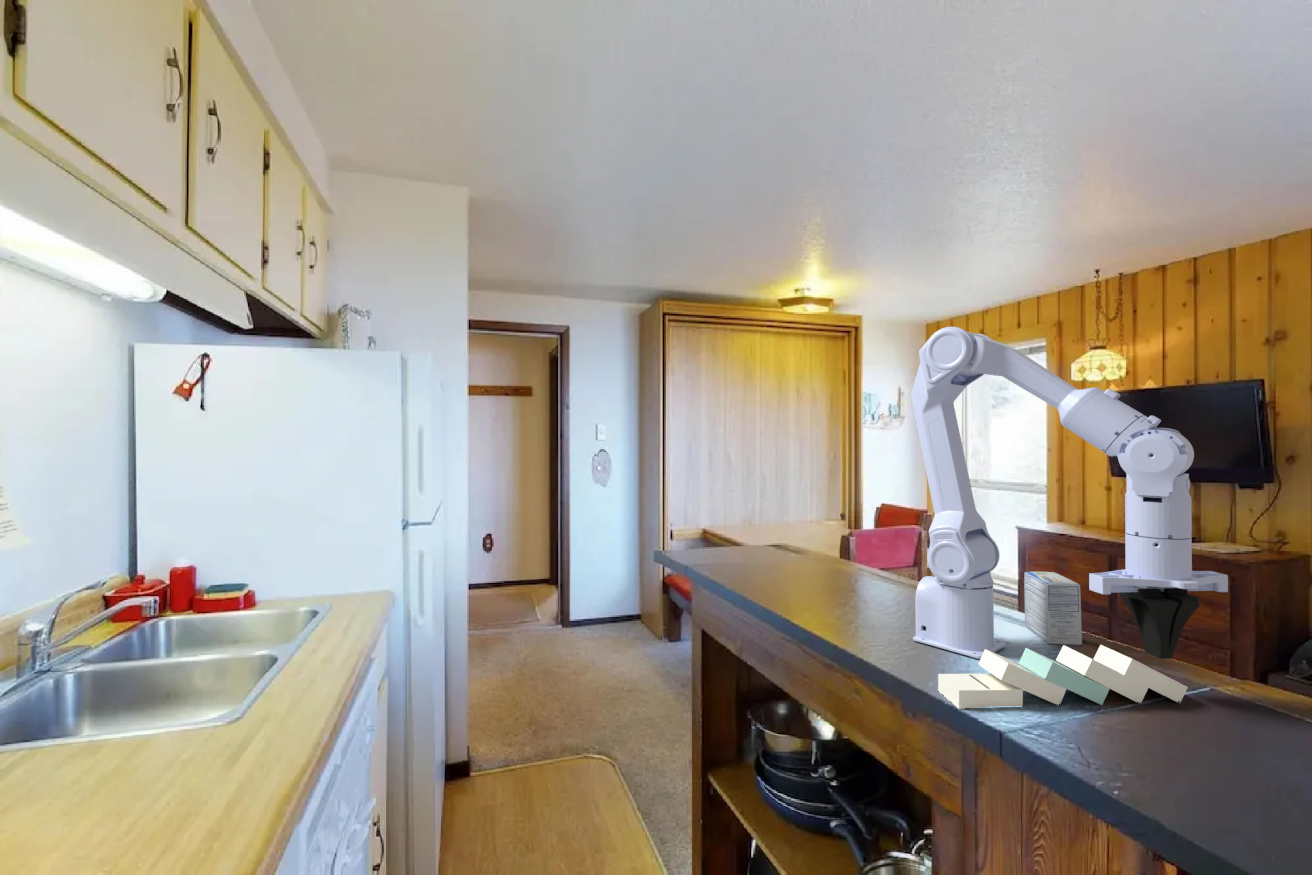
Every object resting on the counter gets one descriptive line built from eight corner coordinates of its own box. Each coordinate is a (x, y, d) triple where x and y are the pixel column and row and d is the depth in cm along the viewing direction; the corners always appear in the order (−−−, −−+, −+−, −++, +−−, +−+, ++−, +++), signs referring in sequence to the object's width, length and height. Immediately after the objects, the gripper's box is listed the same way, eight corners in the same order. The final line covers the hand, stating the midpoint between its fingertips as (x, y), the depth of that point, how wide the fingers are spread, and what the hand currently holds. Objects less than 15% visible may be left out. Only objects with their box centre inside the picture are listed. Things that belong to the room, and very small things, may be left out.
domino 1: (997, 673, 68) (938, 673, 68) (1022, 689, 63) (959, 690, 63) (997, 690, 68) (938, 691, 68) (1022, 708, 63) (959, 709, 63)
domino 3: (1079, 671, 68) (1025, 647, 68) (1109, 688, 64) (1052, 661, 64) (1072, 688, 68) (1018, 663, 68) (1102, 705, 64) (1045, 679, 64)
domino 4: (1115, 671, 68) (1063, 644, 68) (1148, 687, 64) (1092, 658, 64) (1108, 687, 68) (1055, 660, 68) (1140, 704, 64) (1084, 675, 64)
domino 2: (1039, 672, 68) (985, 648, 68) (1066, 688, 64) (1008, 662, 64) (1032, 688, 68) (977, 664, 68) (1059, 706, 64) (1001, 680, 64)
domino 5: (1152, 670, 68) (1100, 644, 68) (1188, 686, 64) (1132, 658, 64) (1145, 686, 68) (1092, 660, 68) (1179, 703, 64) (1124, 675, 64)
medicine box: (1082, 646, 81) (1082, 584, 81) (1047, 644, 82) (1046, 583, 82) (1056, 628, 89) (1055, 571, 89) (1023, 626, 90) (1023, 570, 90)
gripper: (1125, 542, 62) (1126, 670, 62) (1256, 540, 62) (1257, 667, 63) (1074, 531, 69) (1075, 647, 69) (1193, 529, 70) (1194, 644, 70)
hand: (1158, 655), depth 66 cm, fingers closed
